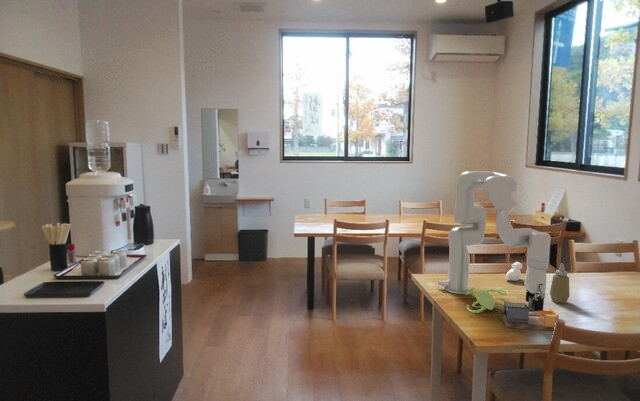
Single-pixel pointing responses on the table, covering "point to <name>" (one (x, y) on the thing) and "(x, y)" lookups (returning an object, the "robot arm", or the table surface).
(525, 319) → the grey sleeve
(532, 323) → the walnut board
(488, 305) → the figurine
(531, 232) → the robot arm
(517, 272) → the bust
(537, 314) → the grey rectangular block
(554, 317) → the orange socket
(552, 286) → the squeeze bottle
